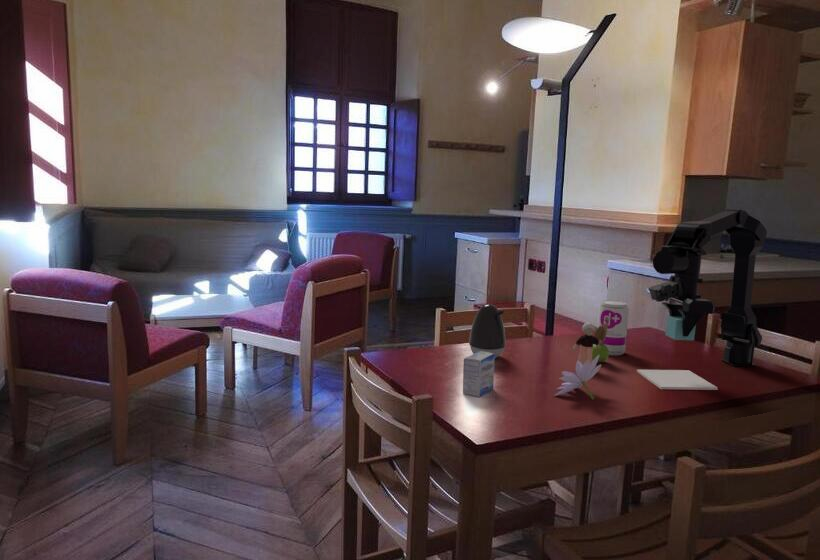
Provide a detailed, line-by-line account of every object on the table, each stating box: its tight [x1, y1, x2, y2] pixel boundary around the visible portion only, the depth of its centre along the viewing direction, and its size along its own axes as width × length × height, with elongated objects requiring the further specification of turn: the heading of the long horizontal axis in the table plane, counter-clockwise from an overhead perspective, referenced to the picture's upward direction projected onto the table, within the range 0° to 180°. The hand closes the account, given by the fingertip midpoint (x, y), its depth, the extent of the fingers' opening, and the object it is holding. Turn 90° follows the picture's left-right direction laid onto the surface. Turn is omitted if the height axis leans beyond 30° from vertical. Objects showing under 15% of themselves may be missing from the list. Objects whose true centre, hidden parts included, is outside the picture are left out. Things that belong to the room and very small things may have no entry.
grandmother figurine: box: [572, 321, 601, 365], centre depth 159 cm, size 8×4×13 cm, turn 112°
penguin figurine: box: [468, 303, 507, 359], centre depth 168 cm, size 10×10×15 cm
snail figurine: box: [592, 318, 610, 363], centre depth 166 cm, size 5×6×12 cm
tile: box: [636, 369, 719, 391], centre depth 152 cm, size 14×14×1 cm
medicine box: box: [462, 351, 496, 398], centre depth 139 cm, size 8×4×9 cm, turn 148°
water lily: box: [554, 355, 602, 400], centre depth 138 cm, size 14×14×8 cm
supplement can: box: [597, 299, 630, 357], centre depth 176 cm, size 8×8×15 cm
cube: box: [664, 315, 697, 341], centre depth 152 cm, size 5×5×5 cm
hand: (680, 333), depth 152 cm, fingers closed on cube, 5 cm apart
